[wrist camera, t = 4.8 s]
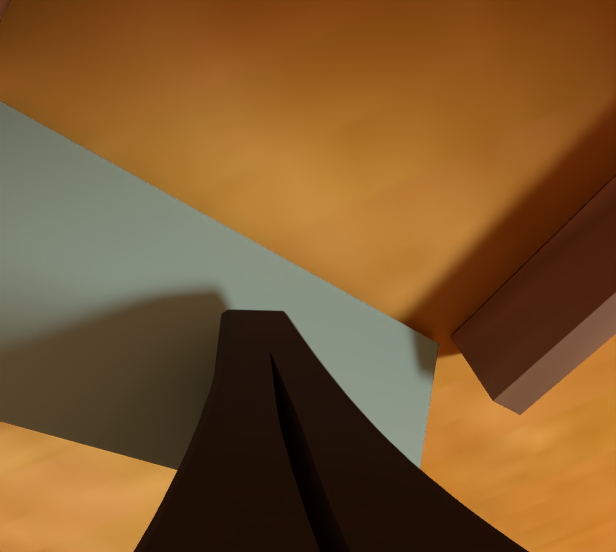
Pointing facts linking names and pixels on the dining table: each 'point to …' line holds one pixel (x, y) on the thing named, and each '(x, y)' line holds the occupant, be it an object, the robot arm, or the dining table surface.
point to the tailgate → (159, 308)
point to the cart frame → (545, 309)
